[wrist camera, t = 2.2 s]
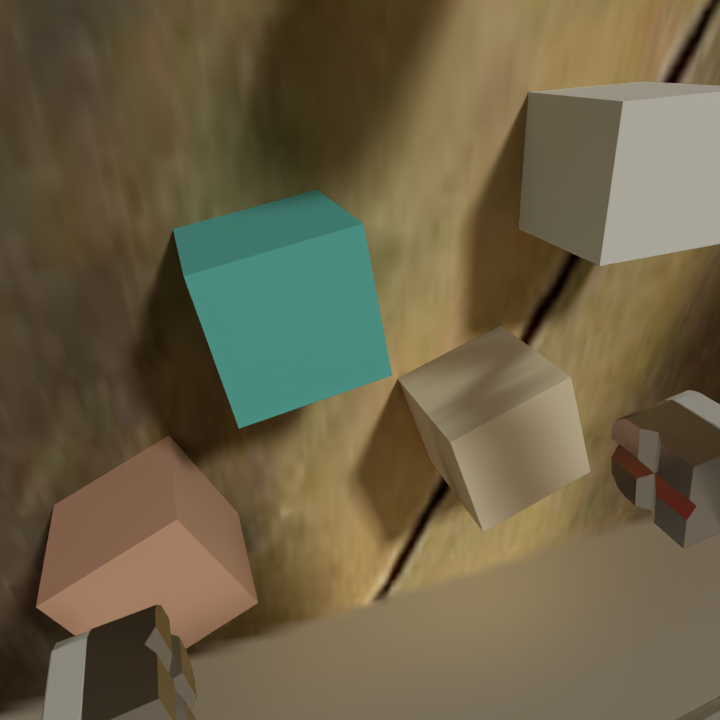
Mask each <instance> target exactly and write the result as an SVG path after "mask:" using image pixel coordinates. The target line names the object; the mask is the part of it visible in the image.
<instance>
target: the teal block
mask: <svg viewBox="0 0 720 720" xmlns="http://www.w3.org/2000/svg"><path fill="white" fill-rule="evenodd" d="M173 231H174V236H175V240H176V245H177V249H178V254H179V258H180V262H181V267H182V271H183V276H184V279H185V281H186V284H187V287H188V290H189V293H190V295H191V298H192V301H193V304H194V306H195V309H196V312H197V315H198V317H199V320H200V323H201V326H202V328H203V331H204V334H205V337H206V339H207V342H208V345H209V348H210V350H211V353H212V356H213V359H214V361H215V364H216V367H217V370H218V372H219V375H220V378H221V381H222V383H223V386H224V389H225V392H226V394H227V397H228V400H229V403H230V405H231V408H232V411H233V414H234V416H235V419H236V422H237V425H238V427H239V429H240V428H243V427H245V426H248V425H251V424H254V423H257V422H260V421H263V420H265V419H268V418H271V417H274V416H277V415H280V414H283V413H286V412H288V411H291V410H294V409H297V408H300V407H303V406H306V405H308V404H311V403H314V402H317V401H320V400H323V399H326V398H328V397H331V396H334V395H337V394H340V393H343V392H346V391H349V390H351V389H354V388H357V387H360V386H363V385H366V384H369V383H371V382H374V381H377V380H380V379H383V378H386V377H389V376H392V373H391V367H390V362H389V357H388V352H387V346H386V341H385V336H384V330H383V325H382V320H381V315H380V309H379V304H378V299H377V294H376V288H375V283H374V278H373V272H372V267H371V262H370V257H369V251H368V246H367V241H366V235H365V230H364V225H363V223H362V222H360V221H359V220H358V219H356V218H355V217H354V216H352V215H351V214H349V213H348V212H347V211H345V210H344V209H343V208H341V207H340V206H339V205H337V204H336V203H335V202H333V201H332V200H330V199H329V198H328V197H326V196H325V195H324V194H322V193H321V192H320V191H318V190H313V191H310V192H306V193H303V194H299V195H295V196H292V197H288V198H285V199H281V200H277V201H274V202H270V203H267V204H263V205H259V206H256V207H252V208H249V209H245V210H241V211H238V212H234V213H231V214H227V215H223V216H220V217H216V218H213V219H209V220H205V221H202V222H198V223H195V224H191V225H187V226H184V227H180V228H176V229H173Z"/></svg>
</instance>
